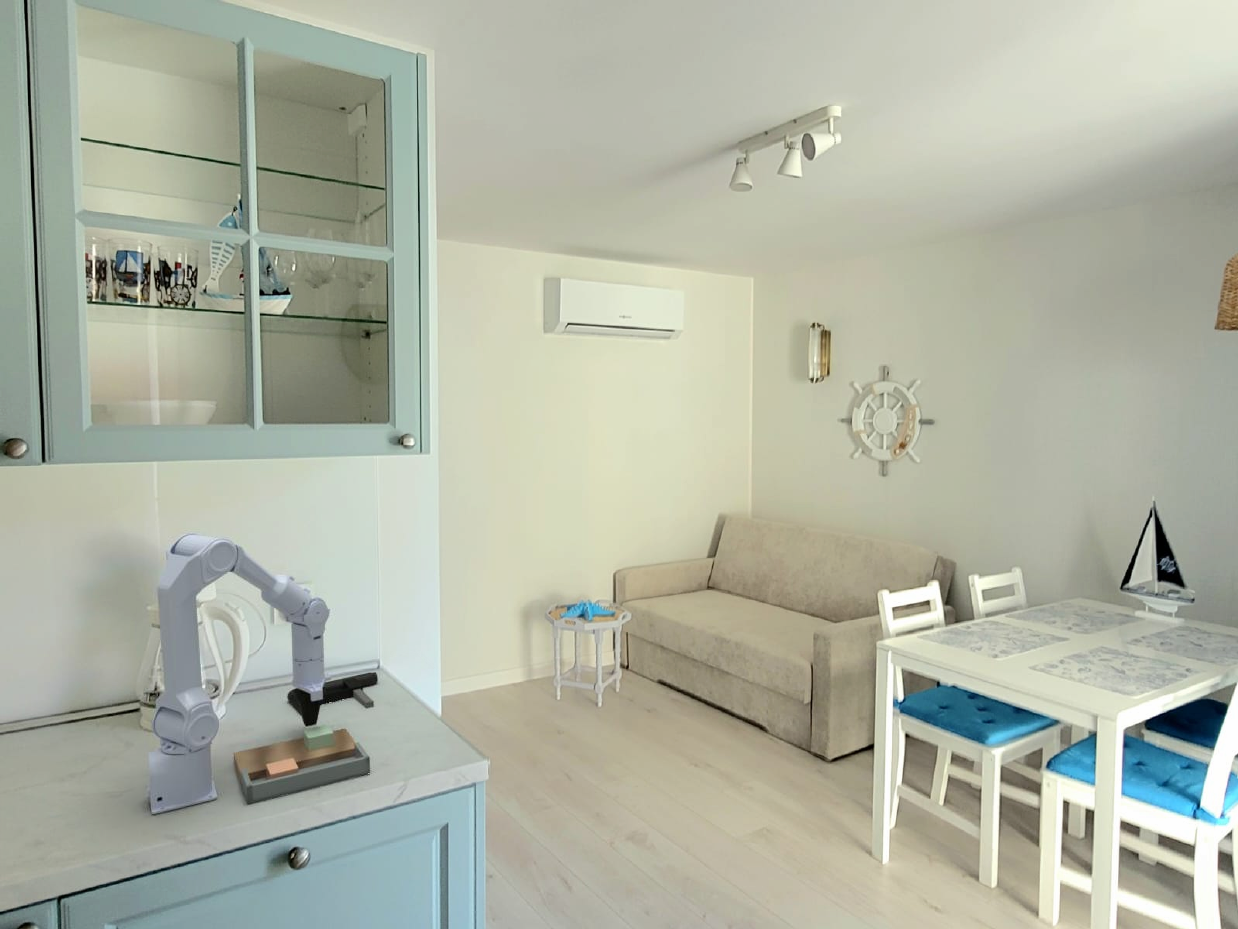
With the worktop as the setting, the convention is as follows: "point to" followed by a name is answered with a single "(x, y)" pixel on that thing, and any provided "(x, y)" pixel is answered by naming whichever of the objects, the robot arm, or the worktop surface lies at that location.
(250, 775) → the walnut board
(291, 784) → the tray
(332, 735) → the sage tile
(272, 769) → the terracotta tile
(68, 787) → the worktop surface
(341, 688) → the door handle
